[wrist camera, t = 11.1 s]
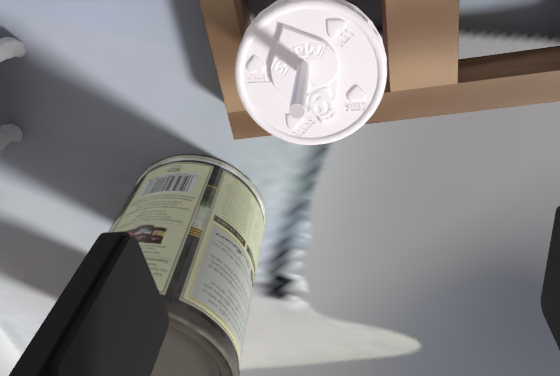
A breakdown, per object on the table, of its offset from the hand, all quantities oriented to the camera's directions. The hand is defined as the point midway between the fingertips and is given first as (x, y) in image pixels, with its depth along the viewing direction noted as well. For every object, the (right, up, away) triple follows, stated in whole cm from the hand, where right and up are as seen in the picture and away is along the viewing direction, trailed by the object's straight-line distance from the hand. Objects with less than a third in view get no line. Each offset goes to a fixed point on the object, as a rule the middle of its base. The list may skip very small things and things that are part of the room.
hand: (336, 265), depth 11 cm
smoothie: (+1, +12, +17) cm, 21 cm away
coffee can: (-7, 0, +26) cm, 27 cm away
